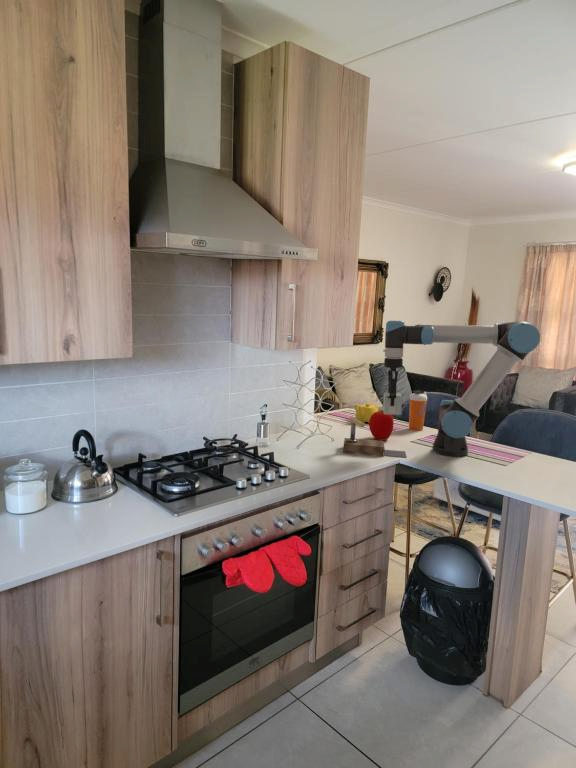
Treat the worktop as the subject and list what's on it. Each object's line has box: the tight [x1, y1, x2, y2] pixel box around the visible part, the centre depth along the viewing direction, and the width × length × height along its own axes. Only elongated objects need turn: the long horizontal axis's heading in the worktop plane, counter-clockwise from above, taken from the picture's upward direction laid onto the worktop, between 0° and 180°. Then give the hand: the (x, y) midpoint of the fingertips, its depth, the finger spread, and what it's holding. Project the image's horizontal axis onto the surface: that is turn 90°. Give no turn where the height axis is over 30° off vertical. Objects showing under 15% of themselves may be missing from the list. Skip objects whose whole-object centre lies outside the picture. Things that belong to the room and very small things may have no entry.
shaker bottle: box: [408, 389, 428, 432], centre depth 274 cm, size 9×9×20 cm
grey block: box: [382, 392, 403, 416], centre depth 224 cm, size 7×7×8 cm
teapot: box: [354, 402, 383, 424], centre depth 287 cm, size 14×13×10 cm
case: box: [343, 437, 385, 457], centre depth 229 cm, size 17×10×4 cm, turn 82°
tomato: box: [368, 410, 394, 441], centre depth 250 cm, size 13×11×14 cm
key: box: [347, 416, 366, 442], centre depth 225 cm, size 11×4×10 cm, turn 17°
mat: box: [384, 449, 408, 459], centre depth 227 cm, size 9×9×1 cm
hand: (391, 411), depth 225 cm, fingers closed on grey block, 7 cm apart
